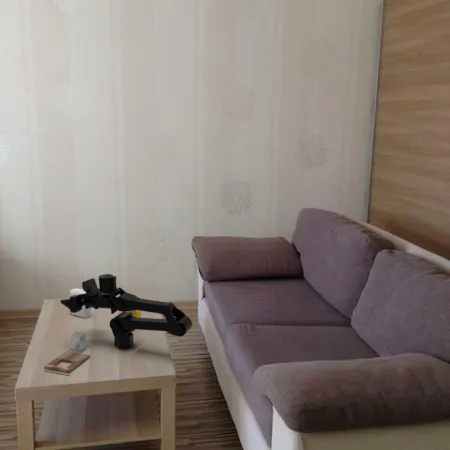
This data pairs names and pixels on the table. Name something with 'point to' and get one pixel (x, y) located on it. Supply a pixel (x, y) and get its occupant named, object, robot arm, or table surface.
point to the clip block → (78, 341)
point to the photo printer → (84, 312)
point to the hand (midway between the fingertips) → (67, 299)
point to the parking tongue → (81, 351)
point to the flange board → (67, 357)
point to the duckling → (135, 313)
